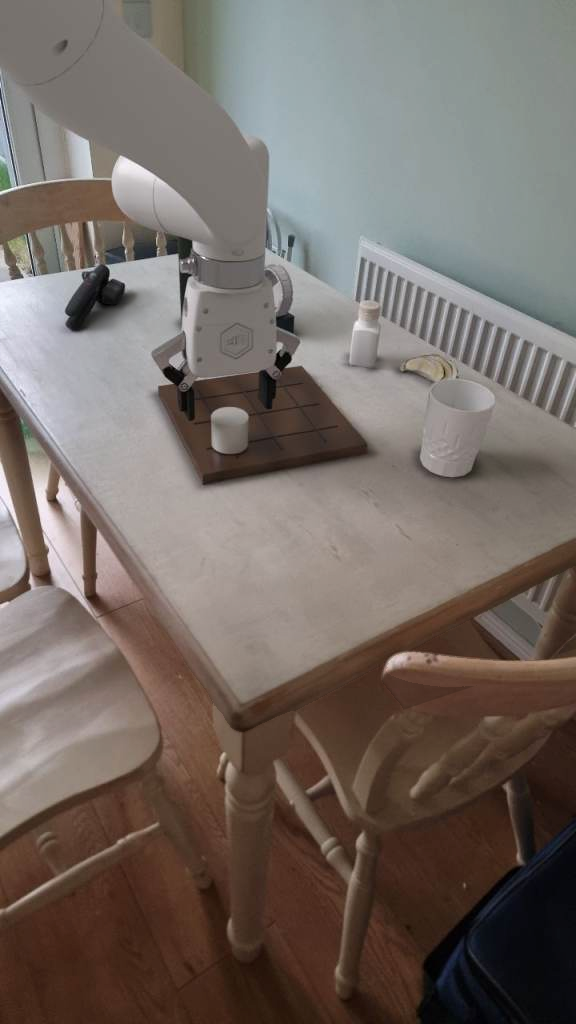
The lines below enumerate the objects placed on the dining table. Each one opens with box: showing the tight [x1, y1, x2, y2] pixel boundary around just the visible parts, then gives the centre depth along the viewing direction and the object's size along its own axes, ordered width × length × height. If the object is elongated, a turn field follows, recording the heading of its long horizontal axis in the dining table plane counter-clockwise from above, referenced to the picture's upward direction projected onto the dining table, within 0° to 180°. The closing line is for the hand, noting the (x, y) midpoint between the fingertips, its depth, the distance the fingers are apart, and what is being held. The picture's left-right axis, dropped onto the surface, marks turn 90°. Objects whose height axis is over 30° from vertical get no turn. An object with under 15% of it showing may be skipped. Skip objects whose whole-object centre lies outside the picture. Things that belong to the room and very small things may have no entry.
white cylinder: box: [211, 407, 249, 454], centre depth 86 cm, size 5×5×4 cm
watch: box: [264, 263, 296, 334], centre depth 113 cm, size 6×8×11 cm
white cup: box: [419, 378, 497, 478], centre depth 86 cm, size 8×8×10 cm
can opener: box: [64, 264, 126, 330], centre depth 117 cm, size 18×7×6 cm, turn 169°
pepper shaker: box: [348, 299, 382, 368], centre depth 107 cm, size 4×4×10 cm
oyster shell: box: [399, 354, 459, 384], centre depth 105 cm, size 6×4×10 cm
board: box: [157, 365, 368, 485], centre depth 94 cm, size 22×22×2 cm
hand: (227, 409), depth 83 cm, fingers open, 9 cm apart
